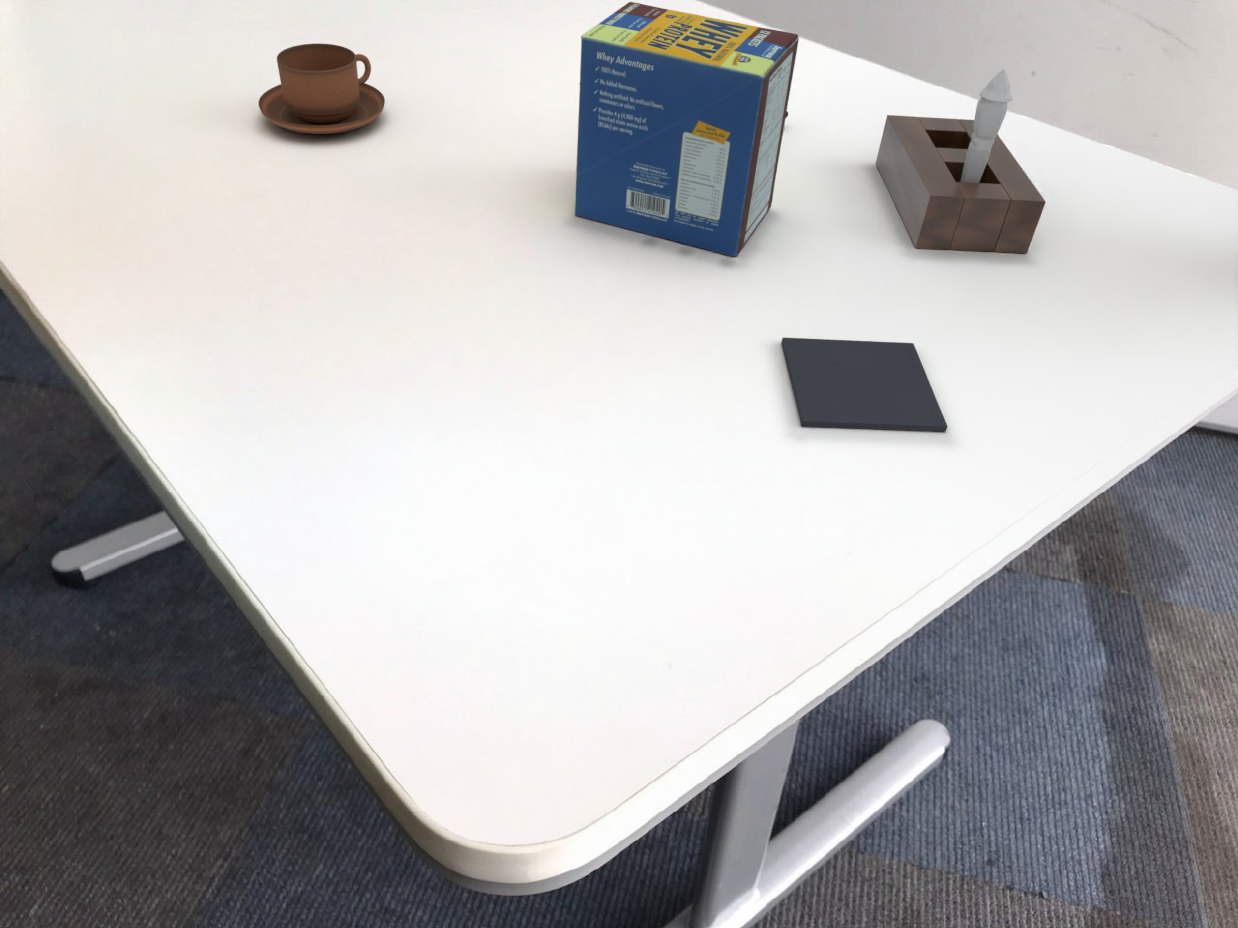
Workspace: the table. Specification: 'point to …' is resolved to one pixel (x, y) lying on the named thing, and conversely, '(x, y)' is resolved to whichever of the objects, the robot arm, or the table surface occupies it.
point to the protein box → (681, 124)
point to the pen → (986, 126)
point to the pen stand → (956, 188)
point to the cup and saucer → (321, 91)
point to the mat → (861, 385)
